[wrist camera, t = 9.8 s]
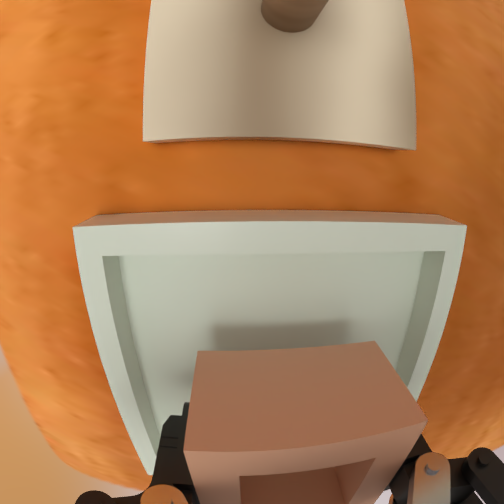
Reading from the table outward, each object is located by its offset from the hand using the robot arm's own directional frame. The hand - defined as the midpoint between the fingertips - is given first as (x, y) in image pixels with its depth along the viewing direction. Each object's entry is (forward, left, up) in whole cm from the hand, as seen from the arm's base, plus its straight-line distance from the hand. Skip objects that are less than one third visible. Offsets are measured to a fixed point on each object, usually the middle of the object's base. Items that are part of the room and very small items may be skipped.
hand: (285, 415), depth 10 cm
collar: (0, 0, 0) cm, 0 cm away
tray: (0, 0, -3) cm, 3 cm away
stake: (0, -14, -3) cm, 14 cm away
